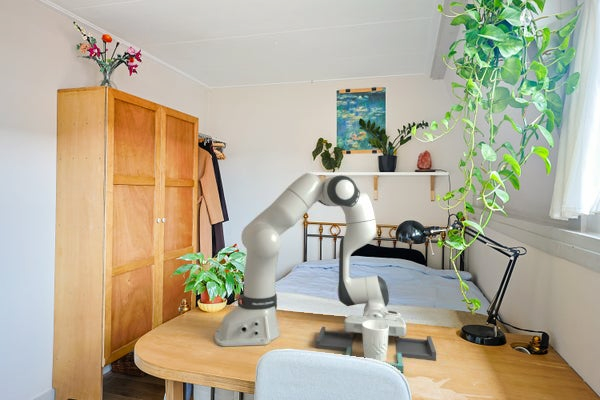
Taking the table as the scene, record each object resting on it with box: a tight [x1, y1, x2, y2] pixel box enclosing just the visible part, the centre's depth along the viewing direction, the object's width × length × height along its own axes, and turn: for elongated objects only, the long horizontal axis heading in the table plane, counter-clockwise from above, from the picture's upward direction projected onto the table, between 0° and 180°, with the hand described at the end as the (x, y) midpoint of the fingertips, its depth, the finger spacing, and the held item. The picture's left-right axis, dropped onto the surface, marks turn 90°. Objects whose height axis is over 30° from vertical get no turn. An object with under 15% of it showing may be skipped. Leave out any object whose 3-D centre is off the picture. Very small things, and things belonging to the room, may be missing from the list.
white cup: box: [362, 320, 389, 362], centre depth 109 cm, size 8×8×10 cm
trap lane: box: [315, 326, 437, 374], centre depth 118 cm, size 32×36×2 cm
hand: (374, 334), depth 114 cm, fingers closed
